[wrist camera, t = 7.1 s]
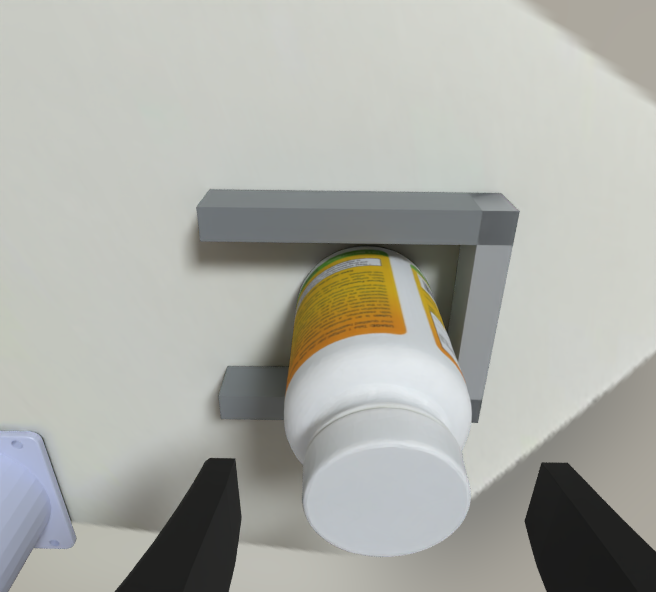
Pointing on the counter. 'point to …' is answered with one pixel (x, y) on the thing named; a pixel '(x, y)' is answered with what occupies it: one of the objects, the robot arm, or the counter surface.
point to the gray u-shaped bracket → (373, 228)
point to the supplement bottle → (376, 406)
